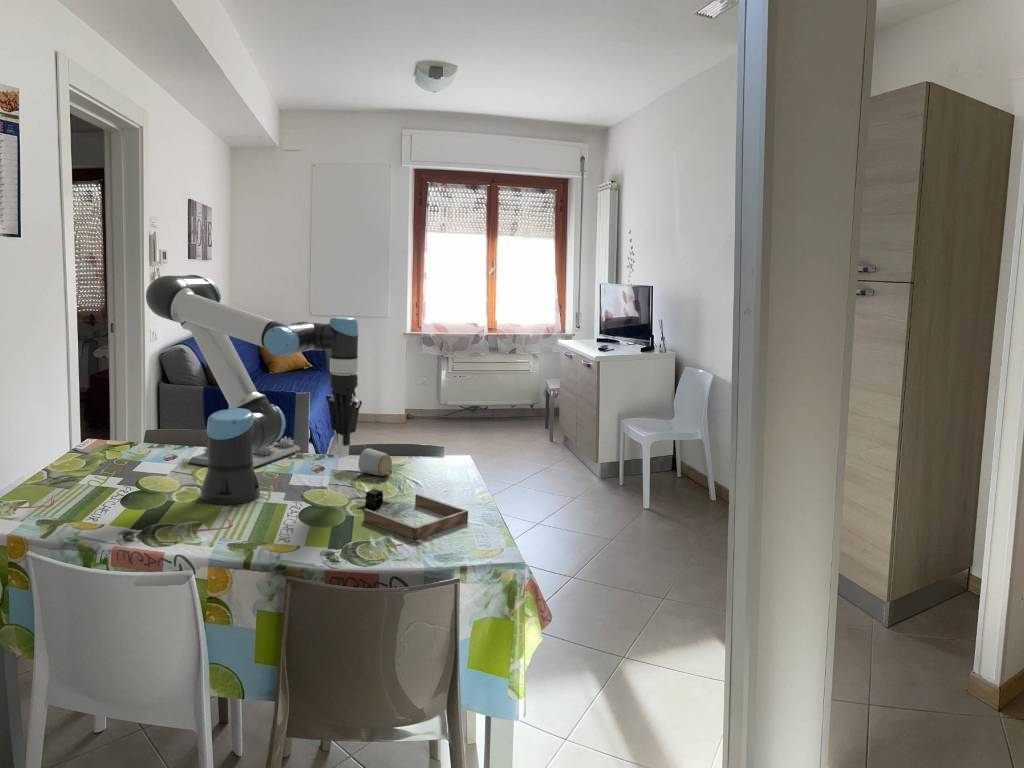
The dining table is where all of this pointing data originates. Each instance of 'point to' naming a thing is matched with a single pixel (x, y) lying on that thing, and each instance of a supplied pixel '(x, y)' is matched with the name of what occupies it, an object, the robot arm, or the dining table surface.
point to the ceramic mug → (375, 462)
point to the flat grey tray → (260, 453)
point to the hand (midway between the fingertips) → (343, 455)
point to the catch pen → (453, 519)
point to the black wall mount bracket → (374, 500)
